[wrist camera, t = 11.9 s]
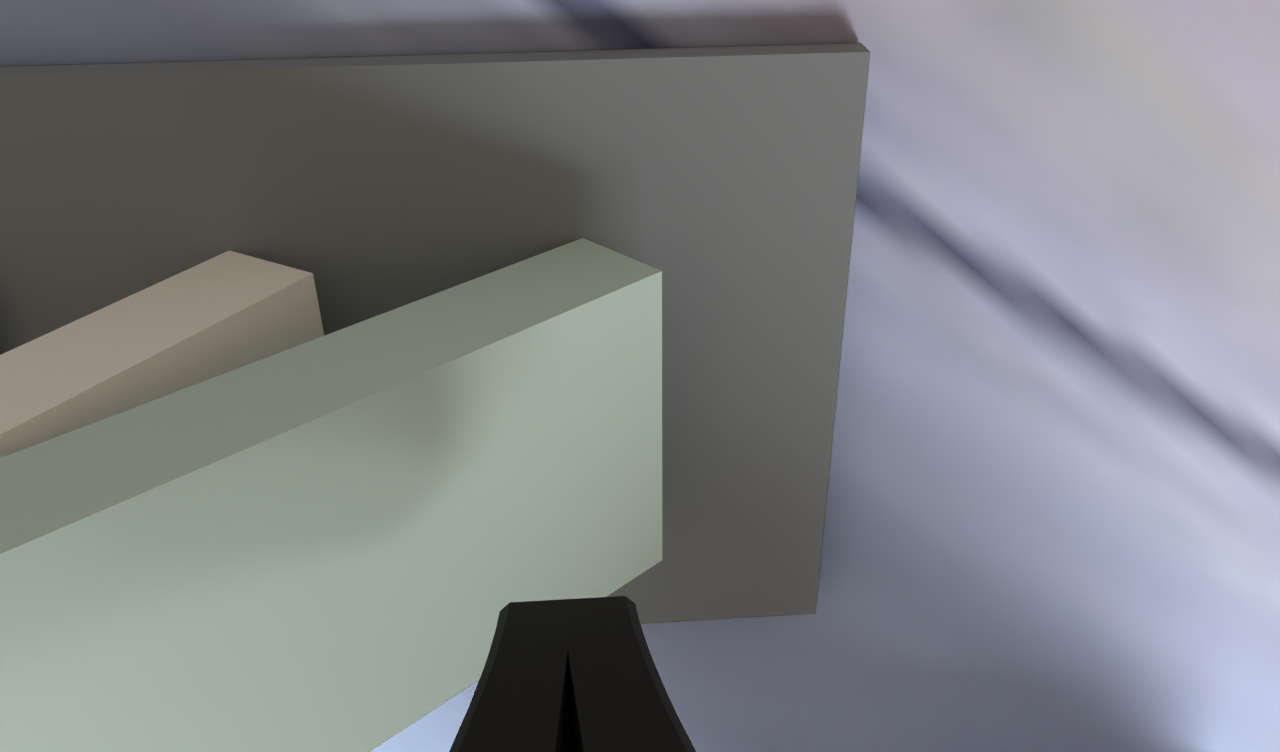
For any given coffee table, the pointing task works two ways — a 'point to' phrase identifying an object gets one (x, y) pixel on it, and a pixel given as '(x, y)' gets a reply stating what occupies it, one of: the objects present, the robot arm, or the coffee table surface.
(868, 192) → the coffee table surface
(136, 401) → the domino
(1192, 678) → the coffee table surface
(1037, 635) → the coffee table surface
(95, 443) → the sage domino
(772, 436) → the mat
